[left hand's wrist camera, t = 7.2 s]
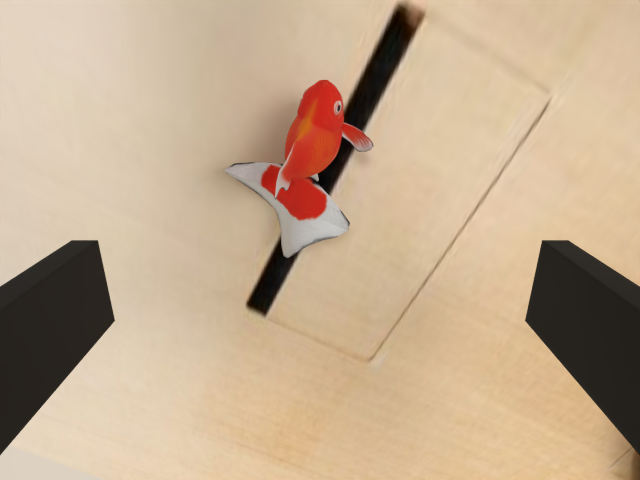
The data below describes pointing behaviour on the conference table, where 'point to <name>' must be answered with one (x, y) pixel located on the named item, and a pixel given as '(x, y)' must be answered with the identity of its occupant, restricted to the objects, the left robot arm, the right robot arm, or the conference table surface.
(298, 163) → the fish
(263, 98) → the conference table surface
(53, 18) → the conference table surface
